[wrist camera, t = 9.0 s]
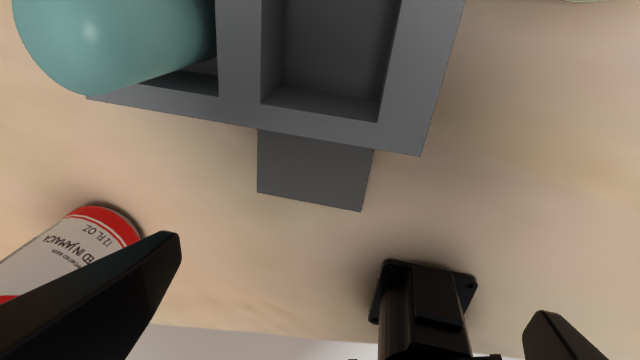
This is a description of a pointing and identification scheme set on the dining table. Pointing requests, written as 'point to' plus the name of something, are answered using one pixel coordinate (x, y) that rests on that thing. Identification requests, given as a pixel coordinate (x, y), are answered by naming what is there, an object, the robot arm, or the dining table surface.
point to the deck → (312, 170)
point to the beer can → (65, 249)
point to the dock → (316, 70)
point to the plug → (115, 39)
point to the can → (584, 1)
